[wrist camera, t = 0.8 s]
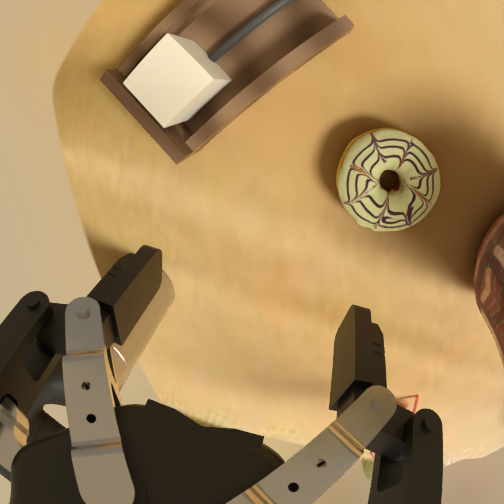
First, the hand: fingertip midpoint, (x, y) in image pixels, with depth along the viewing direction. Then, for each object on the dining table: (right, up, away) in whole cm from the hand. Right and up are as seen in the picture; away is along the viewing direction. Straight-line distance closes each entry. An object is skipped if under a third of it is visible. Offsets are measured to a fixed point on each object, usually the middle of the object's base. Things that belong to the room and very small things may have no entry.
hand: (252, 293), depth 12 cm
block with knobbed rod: (0, +23, +11) cm, 25 cm away
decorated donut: (+14, +10, +17) cm, 24 cm away
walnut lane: (-2, +22, +13) cm, 25 cm away
